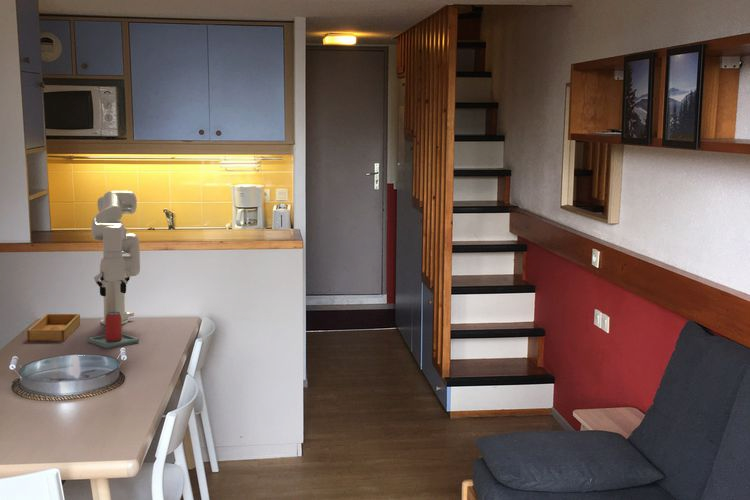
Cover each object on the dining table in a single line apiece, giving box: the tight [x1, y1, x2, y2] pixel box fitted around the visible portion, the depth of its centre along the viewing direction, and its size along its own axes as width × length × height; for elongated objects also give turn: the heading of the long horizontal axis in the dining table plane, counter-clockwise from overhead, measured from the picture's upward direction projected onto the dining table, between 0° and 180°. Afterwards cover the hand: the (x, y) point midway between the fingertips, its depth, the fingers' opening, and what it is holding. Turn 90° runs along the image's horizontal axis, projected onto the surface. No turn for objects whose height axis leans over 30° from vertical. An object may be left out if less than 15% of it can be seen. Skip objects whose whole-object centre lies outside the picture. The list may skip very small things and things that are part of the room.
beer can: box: [105, 312, 123, 342], centre depth 351 cm, size 7×7×12 cm
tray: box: [26, 313, 81, 342], centre depth 366 cm, size 31×15×6 cm, turn 7°
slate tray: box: [87, 333, 140, 349], centre depth 352 cm, size 15×15×2 cm
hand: (113, 294), depth 350 cm, fingers open, 9 cm apart
